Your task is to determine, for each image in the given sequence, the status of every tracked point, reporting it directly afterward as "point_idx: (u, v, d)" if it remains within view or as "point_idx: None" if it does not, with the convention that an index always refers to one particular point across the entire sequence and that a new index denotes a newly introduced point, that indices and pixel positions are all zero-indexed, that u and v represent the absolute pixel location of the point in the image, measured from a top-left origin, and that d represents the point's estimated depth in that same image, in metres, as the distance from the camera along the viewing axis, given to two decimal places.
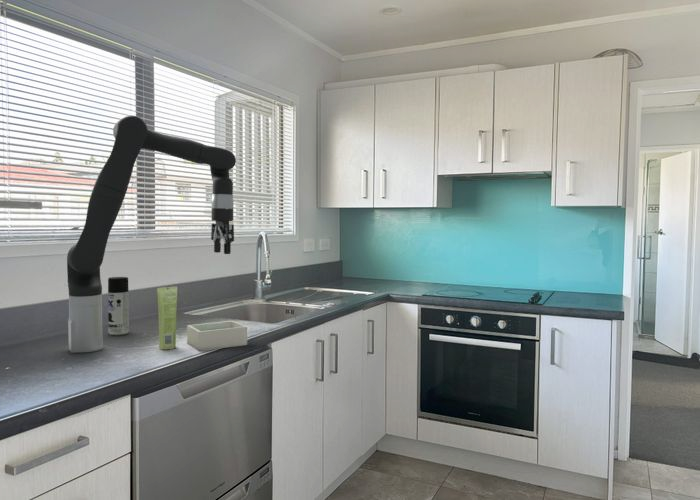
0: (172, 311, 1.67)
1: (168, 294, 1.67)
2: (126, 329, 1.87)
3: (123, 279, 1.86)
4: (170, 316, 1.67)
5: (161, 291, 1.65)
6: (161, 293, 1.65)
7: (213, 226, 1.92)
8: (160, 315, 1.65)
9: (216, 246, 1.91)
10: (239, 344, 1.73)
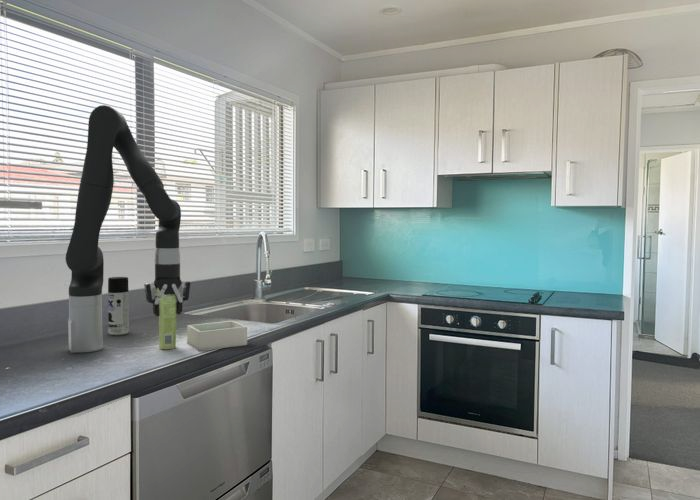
0: (172, 311, 1.67)
1: (168, 294, 1.67)
2: (126, 329, 1.87)
3: (123, 279, 1.86)
4: (170, 316, 1.67)
5: None
6: None
7: (149, 286, 1.63)
8: (160, 315, 1.65)
9: None
10: (239, 344, 1.73)
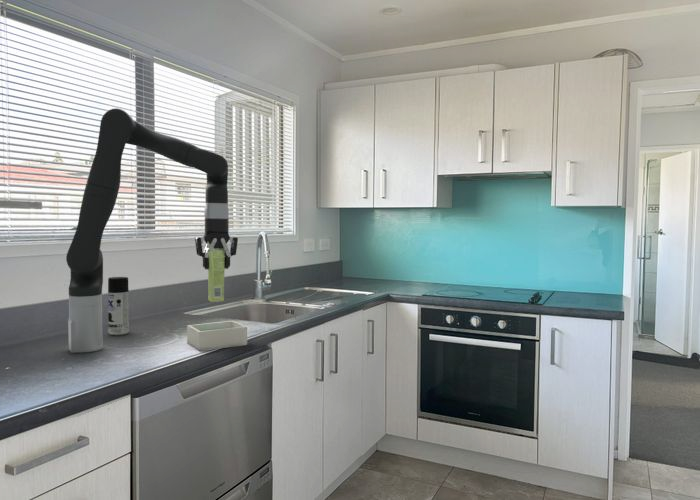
0: (221, 265, 1.72)
1: (217, 248, 1.72)
2: (126, 329, 1.87)
3: (123, 279, 1.86)
4: (219, 270, 1.72)
5: None
6: None
7: (200, 240, 1.69)
8: (210, 268, 1.71)
9: None
10: (239, 344, 1.73)
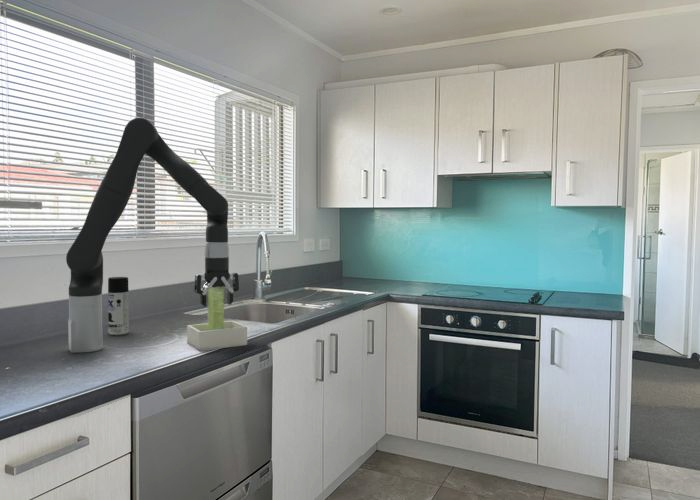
0: (220, 306, 1.73)
1: (217, 290, 1.73)
2: (126, 329, 1.87)
3: (123, 279, 1.86)
4: (219, 311, 1.72)
5: None
6: (210, 289, 1.71)
7: (200, 277, 1.69)
8: (209, 309, 1.71)
9: None
10: (239, 344, 1.73)
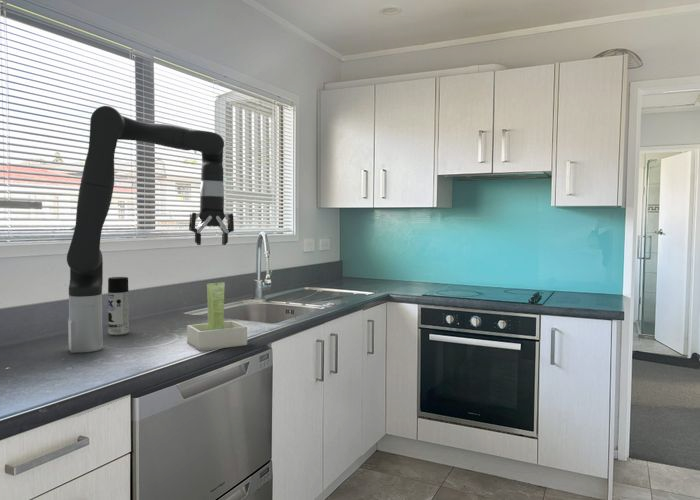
0: (220, 306, 1.73)
1: (217, 290, 1.73)
2: (126, 329, 1.87)
3: (123, 279, 1.86)
4: (219, 311, 1.72)
5: (210, 287, 1.71)
6: (210, 289, 1.71)
7: None
8: (209, 309, 1.71)
9: None
10: (239, 344, 1.73)
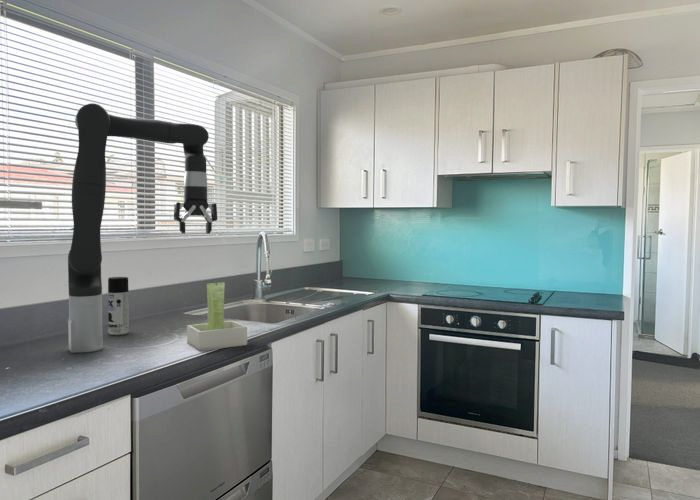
0: (220, 306, 1.73)
1: (217, 290, 1.73)
2: (126, 329, 1.87)
3: (123, 279, 1.86)
4: (219, 311, 1.72)
5: (210, 287, 1.71)
6: (211, 289, 1.71)
7: (179, 205, 1.76)
8: (209, 309, 1.71)
9: None
10: (239, 344, 1.73)
